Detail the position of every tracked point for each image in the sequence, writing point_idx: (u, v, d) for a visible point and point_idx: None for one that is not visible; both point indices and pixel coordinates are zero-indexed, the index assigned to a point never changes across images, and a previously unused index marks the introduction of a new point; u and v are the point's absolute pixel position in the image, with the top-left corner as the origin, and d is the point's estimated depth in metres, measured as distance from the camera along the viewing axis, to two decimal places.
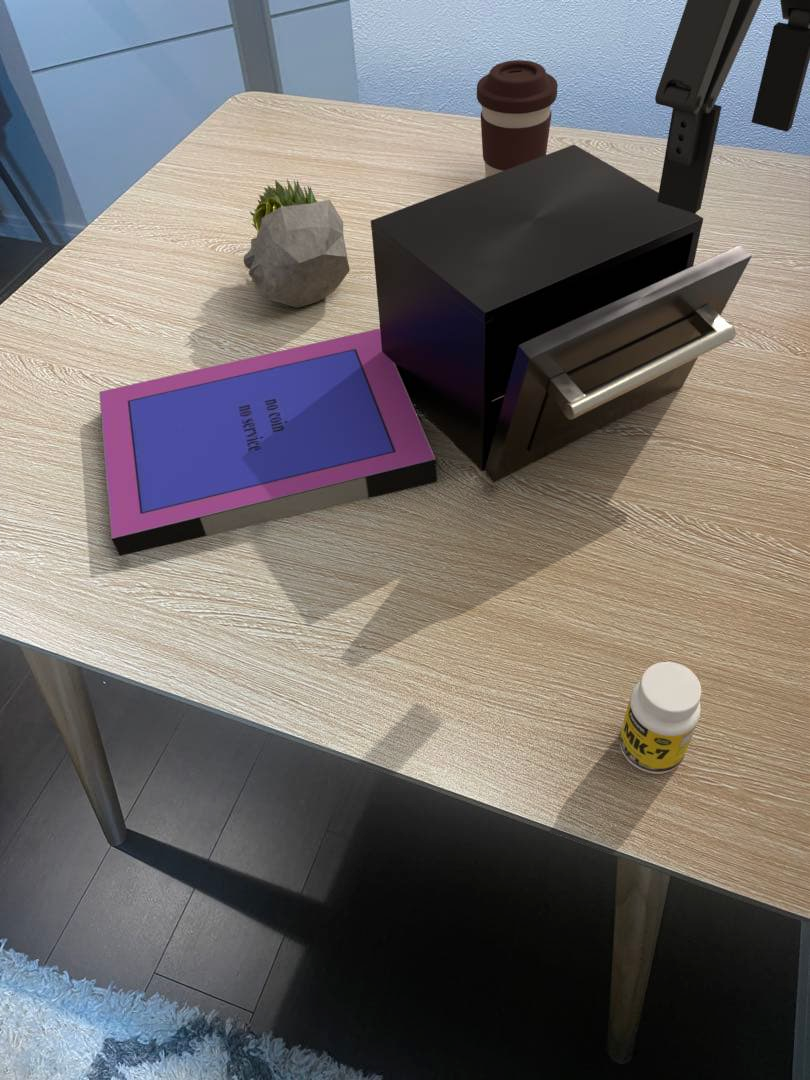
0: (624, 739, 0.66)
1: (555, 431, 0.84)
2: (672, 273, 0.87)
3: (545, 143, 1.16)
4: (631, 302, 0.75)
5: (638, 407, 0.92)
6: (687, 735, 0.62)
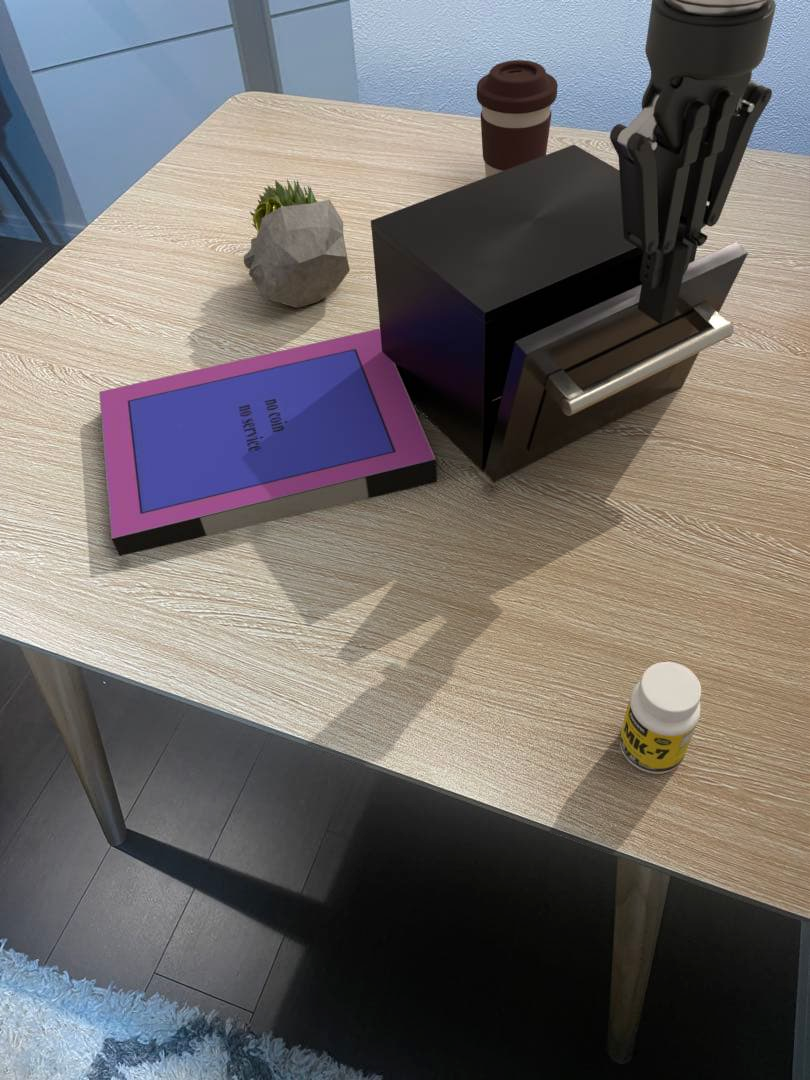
0: (624, 739, 0.66)
1: (554, 430, 0.84)
2: None
3: (545, 143, 1.16)
4: (627, 298, 0.75)
5: (638, 407, 0.92)
6: (687, 735, 0.62)
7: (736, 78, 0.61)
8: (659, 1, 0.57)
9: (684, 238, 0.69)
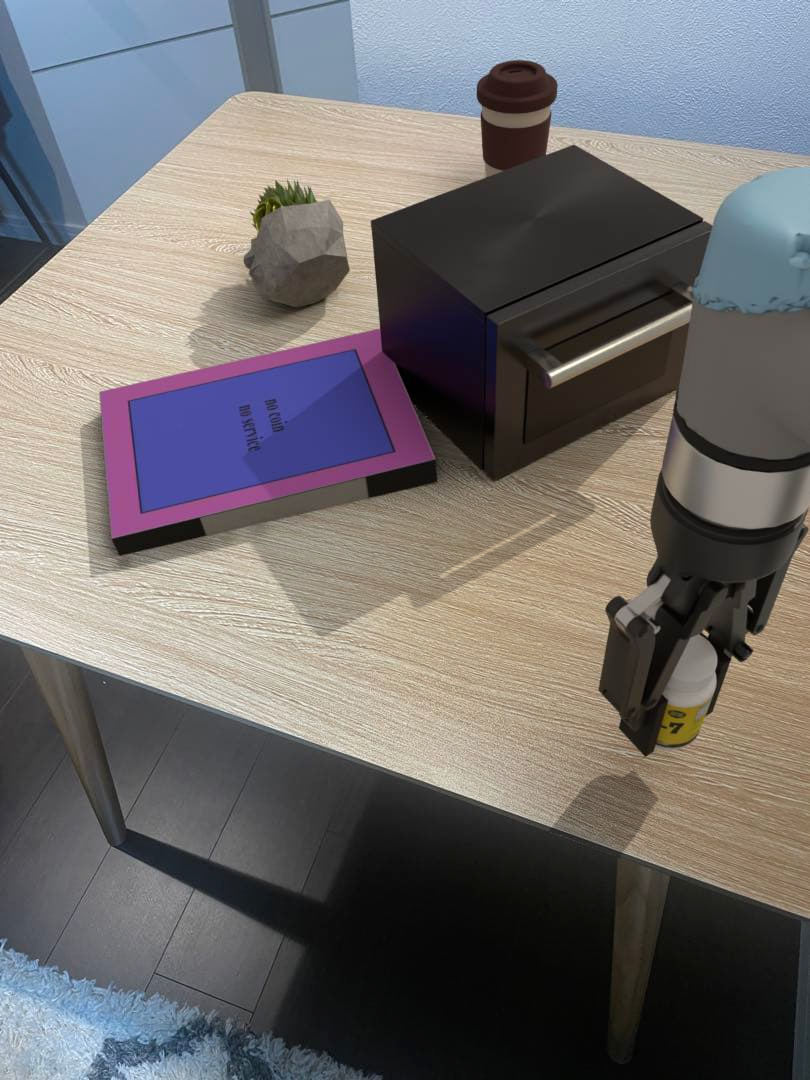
0: None
1: (548, 422, 0.85)
2: None
3: (545, 143, 1.16)
4: (597, 273, 0.77)
5: (638, 405, 0.92)
6: (702, 707, 0.59)
7: None
8: (666, 490, 0.47)
9: (726, 649, 0.60)
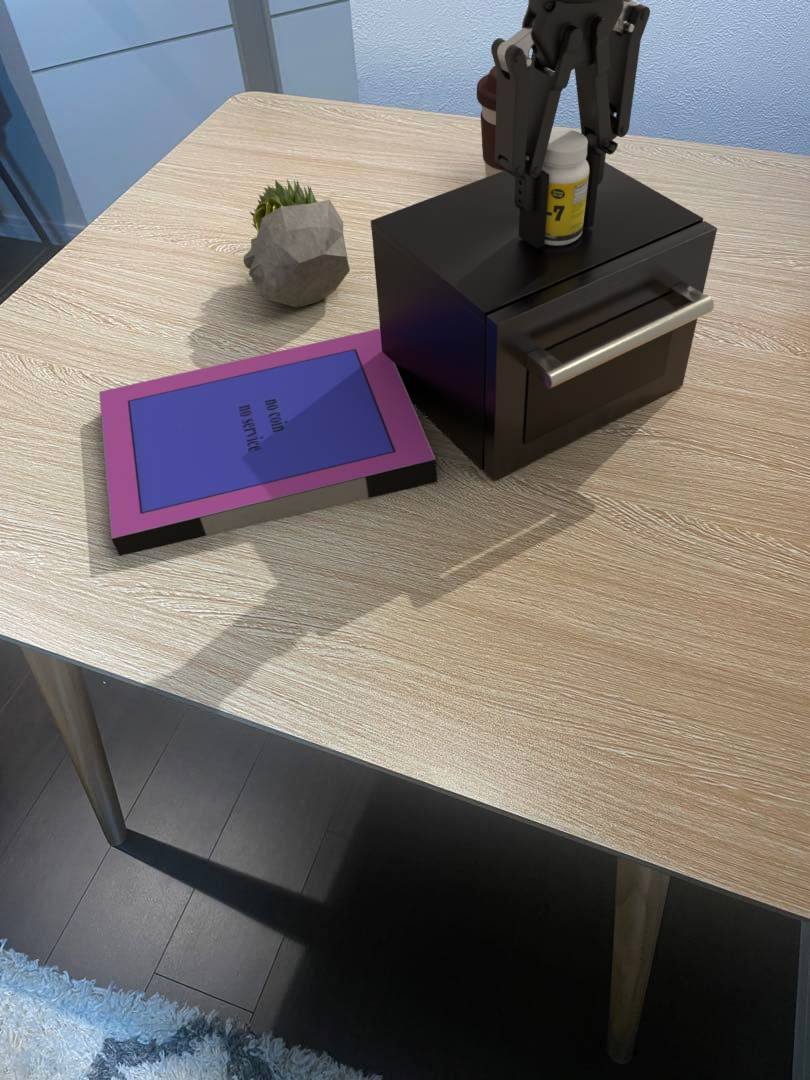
0: None
1: (548, 422, 0.85)
2: None
3: None
4: (597, 273, 0.77)
5: (638, 405, 0.92)
6: (578, 188, 0.76)
7: (608, 5, 0.68)
8: None
9: (598, 148, 0.77)
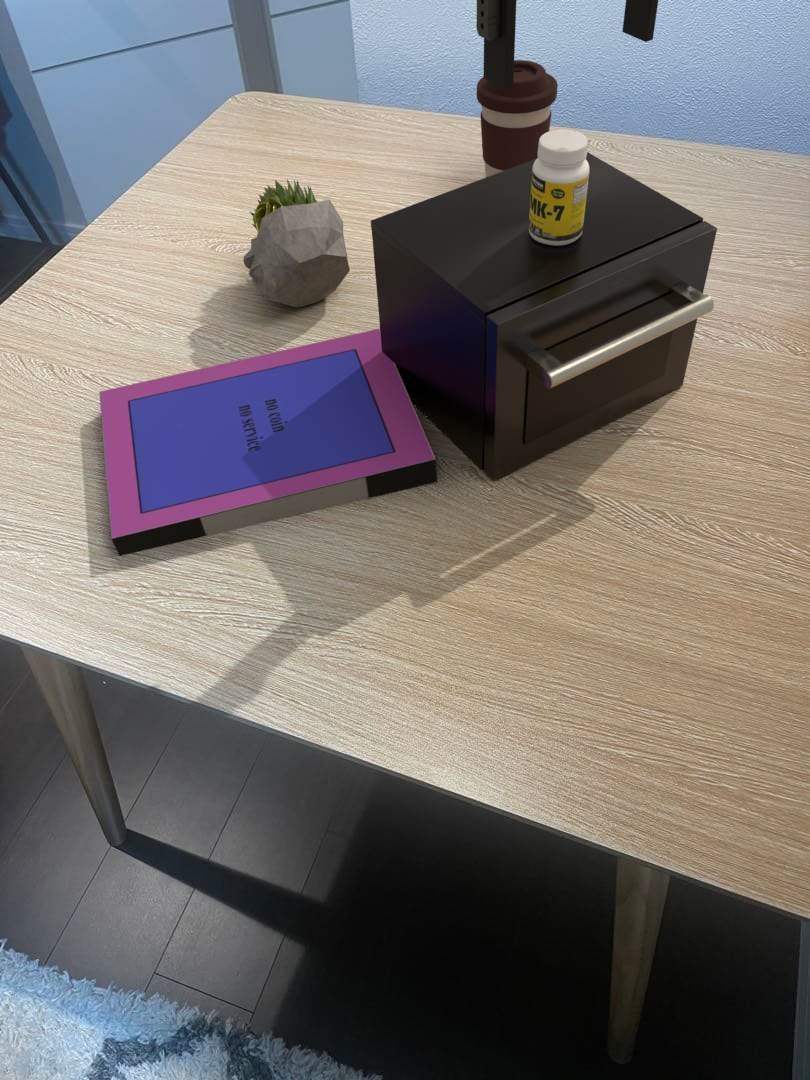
0: (530, 216, 0.80)
1: (548, 422, 0.85)
2: None
3: None
4: (597, 273, 0.77)
5: (638, 405, 0.92)
6: (578, 188, 0.76)
7: None
8: None
9: None
